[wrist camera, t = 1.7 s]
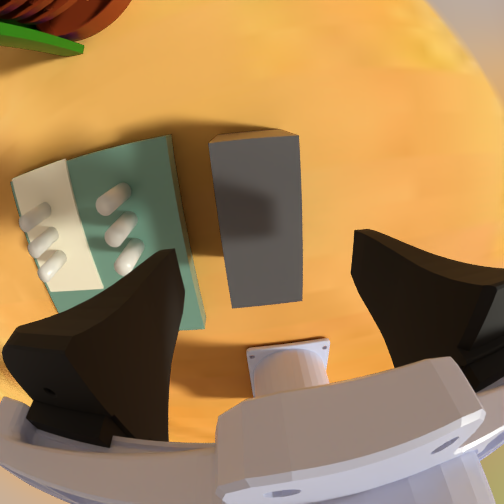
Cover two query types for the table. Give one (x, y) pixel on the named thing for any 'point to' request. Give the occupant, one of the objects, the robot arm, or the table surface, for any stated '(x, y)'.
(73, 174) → the header board
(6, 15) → the green and brown cylinder
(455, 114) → the table surface
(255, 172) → the block
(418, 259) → the robot arm
